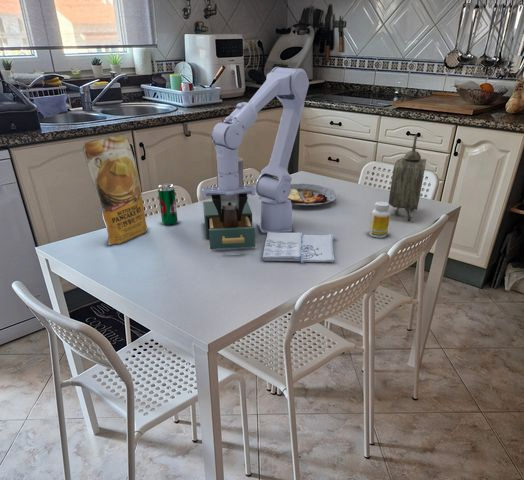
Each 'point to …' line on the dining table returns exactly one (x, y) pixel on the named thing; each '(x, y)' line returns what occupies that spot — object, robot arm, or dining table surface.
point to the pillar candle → (240, 169)
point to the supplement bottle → (379, 220)
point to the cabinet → (212, 211)
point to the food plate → (310, 195)
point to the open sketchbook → (298, 247)
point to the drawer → (231, 234)
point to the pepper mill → (230, 215)
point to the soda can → (167, 204)
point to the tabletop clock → (407, 181)
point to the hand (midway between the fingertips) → (230, 220)
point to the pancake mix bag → (117, 186)
